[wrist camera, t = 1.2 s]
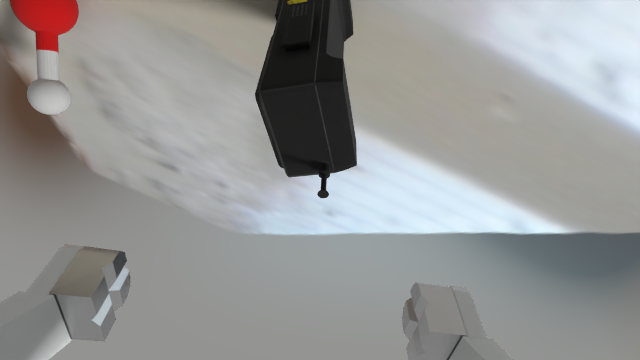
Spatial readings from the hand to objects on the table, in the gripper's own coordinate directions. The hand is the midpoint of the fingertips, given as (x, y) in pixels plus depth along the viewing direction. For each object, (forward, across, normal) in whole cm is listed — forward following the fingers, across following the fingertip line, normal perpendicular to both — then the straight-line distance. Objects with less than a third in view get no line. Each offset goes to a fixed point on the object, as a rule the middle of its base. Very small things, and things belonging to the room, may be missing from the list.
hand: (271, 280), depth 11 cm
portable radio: (+36, 0, -1) cm, 36 cm away
